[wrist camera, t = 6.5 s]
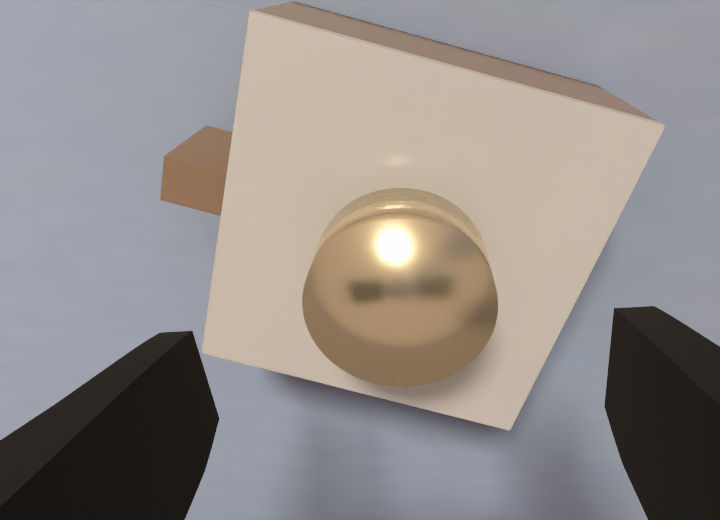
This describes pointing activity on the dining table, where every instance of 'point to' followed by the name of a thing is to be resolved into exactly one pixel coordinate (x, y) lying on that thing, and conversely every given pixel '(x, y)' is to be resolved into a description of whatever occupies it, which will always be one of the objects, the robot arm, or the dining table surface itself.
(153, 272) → the dining table surface
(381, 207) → the plunger
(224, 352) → the tan box
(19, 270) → the dining table surface
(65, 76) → the dining table surface
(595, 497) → the dining table surface
